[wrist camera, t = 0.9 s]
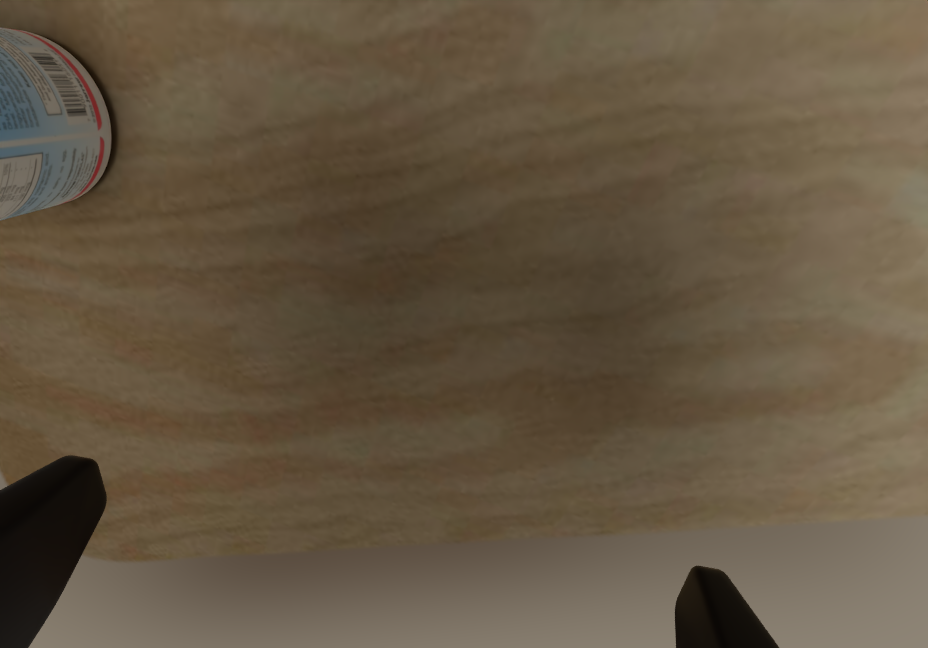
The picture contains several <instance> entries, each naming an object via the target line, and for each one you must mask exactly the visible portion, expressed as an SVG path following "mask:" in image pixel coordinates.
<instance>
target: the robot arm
mask: <svg viewBox="0 0 928 648" xmlns="http://www.w3.org/2000/svg"><path fill="white" fill-rule="evenodd" d="M106 501H107V496H106V491H105V488H104V484H103V481H102V477H101V473H100V470H99V466H98V464H97V463H96V462H95V461H94V460H93V459H90V458H84V457H78V456H65V457H62V458H60V459H58V460H56V461H54V462H52V463H50V464H49V465H47V466H45V467H43V468H41V469H39V470H37V471H35V472H34V473H32V474H30V475H28V476H26V477H24V478H22V479H20V480H19V481H17V482H15V483H13V484H11V485H9V486H7V487H5V488H4V489H2V490H0V648H28V647H29V646H30V644H31V643H32V641H33V639H34V638H35V636H36V635H37V633H38V632H39V630H40V629H41V627H42V626H43V624H44V623H45V621H46V619H47V618H48V616H49V614H50V613H51V611H52V610H53V608H54V606H55V605H56V603H57V601H58V599H59V597H60V596H61V594H62V592H63V590H64V588H65V586H66V584H67V582H68V580H69V578H70V577H71V575H72V573H73V571H74V569H75V567H76V565H77V563H78V561H79V559H80V557H81V555H82V553H83V551H84V549H85V547H86V545H87V543H88V541H89V540H90V538H91V536H92V534H93V532H94V530H95V528H96V526H97V524H98V522H99V520H100V518H101V516H102V514H103V512H104V509H105V506H106ZM675 629H676V648H779V647H778V645H777V644H776V643H775V641H774V640H773V638H772V637H771V636H770V634H769V633H768V631H767V630H766V629H765V627H764V626H763V625H762V623H761V622H760V621H759V619H758V618H757V616H756V615H755V614H754V612H753V611H752V609H751V608H750V607H749V605H748V604H747V602H746V601H745V600H744V599H743V597H742V595H741V594H740V593H739V591H738V590H737V588H736V587H735V586H734V584H733V583H732V582H731V580H730V579H729V577H728V576H727V575H726V574H725V573H724V572H723V571H721V570H719V569H714V568H708V567H703V566H695V567H693V568H692V569H691V571H690V572H689V575H688V577H687V579H686V581H685V583H684V585H683V587H682V589H681V591H680V594H679V596H678V598H677V601H676V607H675Z"/></svg>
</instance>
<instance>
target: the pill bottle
mask: <svg viewBox="0 0 928 648" xmlns="http://www.w3.org/2000/svg"><path fill="white" fill-rule="evenodd" d="M110 151H111V125H110V119H109V114H108V111H107V107H106V105H105V102H104V100H103V97H102V95H101V93H100V91H99V89H98V87H97V85H96V84H95V82H94V80H93V79H92V77H91V76H90V75H89V73H88V72H87V71H86V69H85V68H84V67H83V66H82V65H81V64H80V63H79V61H78V60H77V59H76V58H74V57H73V56H72V55H71V54H70V53H69V52H67V51H66V50H65V49H63V48H62V47H61V46H59V45H57V44H56V43H54V42H52V41H50V40H48V39H46V38H44V37H42V36H39V35H37V34H34V33H30V32H27V31H22V30H15V29H8V28H0V220H4V219H7V218H11V217H15V216H19V215H22V214H27V213H30V212H34V211H38V210H42V209H45V208H49V207H53V206H57V205H60V204H63V203H66V202H69V201H72V200H74V199H77V198H78V197H80V196H82V195H83V194H85V193H86V192H88V191H89V190H90V189H91V188H92V187H93V186H94V185H95V184H96V183H97V182H98V181H99V179H100V178H101V176H102V175H103V173H104V171H105V168H106V166H107V163H108V160H109V156H110Z"/></svg>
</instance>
